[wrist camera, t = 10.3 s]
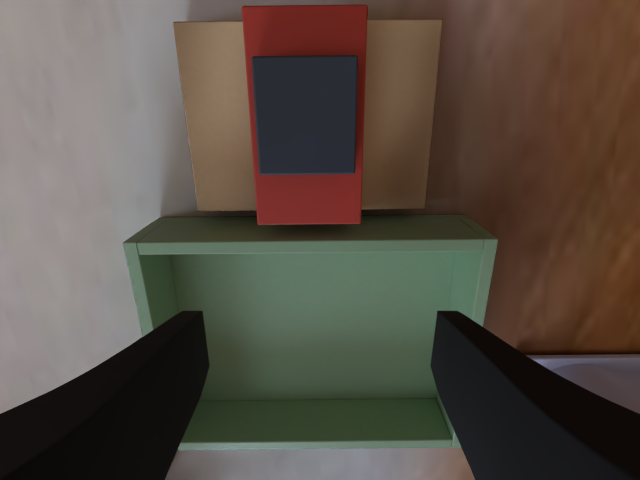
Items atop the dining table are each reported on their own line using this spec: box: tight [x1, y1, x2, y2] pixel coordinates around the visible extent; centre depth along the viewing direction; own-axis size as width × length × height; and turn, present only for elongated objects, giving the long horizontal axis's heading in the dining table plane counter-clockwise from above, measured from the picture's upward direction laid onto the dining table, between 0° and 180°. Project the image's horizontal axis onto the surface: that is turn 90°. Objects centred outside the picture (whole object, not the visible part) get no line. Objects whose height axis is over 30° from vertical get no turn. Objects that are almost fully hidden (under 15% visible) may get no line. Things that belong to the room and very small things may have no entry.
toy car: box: [242, 5, 368, 225], centre depth 14 cm, size 4×8×3 cm, turn 0°
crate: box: [123, 215, 498, 450], centre depth 19 cm, size 16×12×4 cm
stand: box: [173, 19, 443, 211], centre depth 17 cm, size 11×8×2 cm
